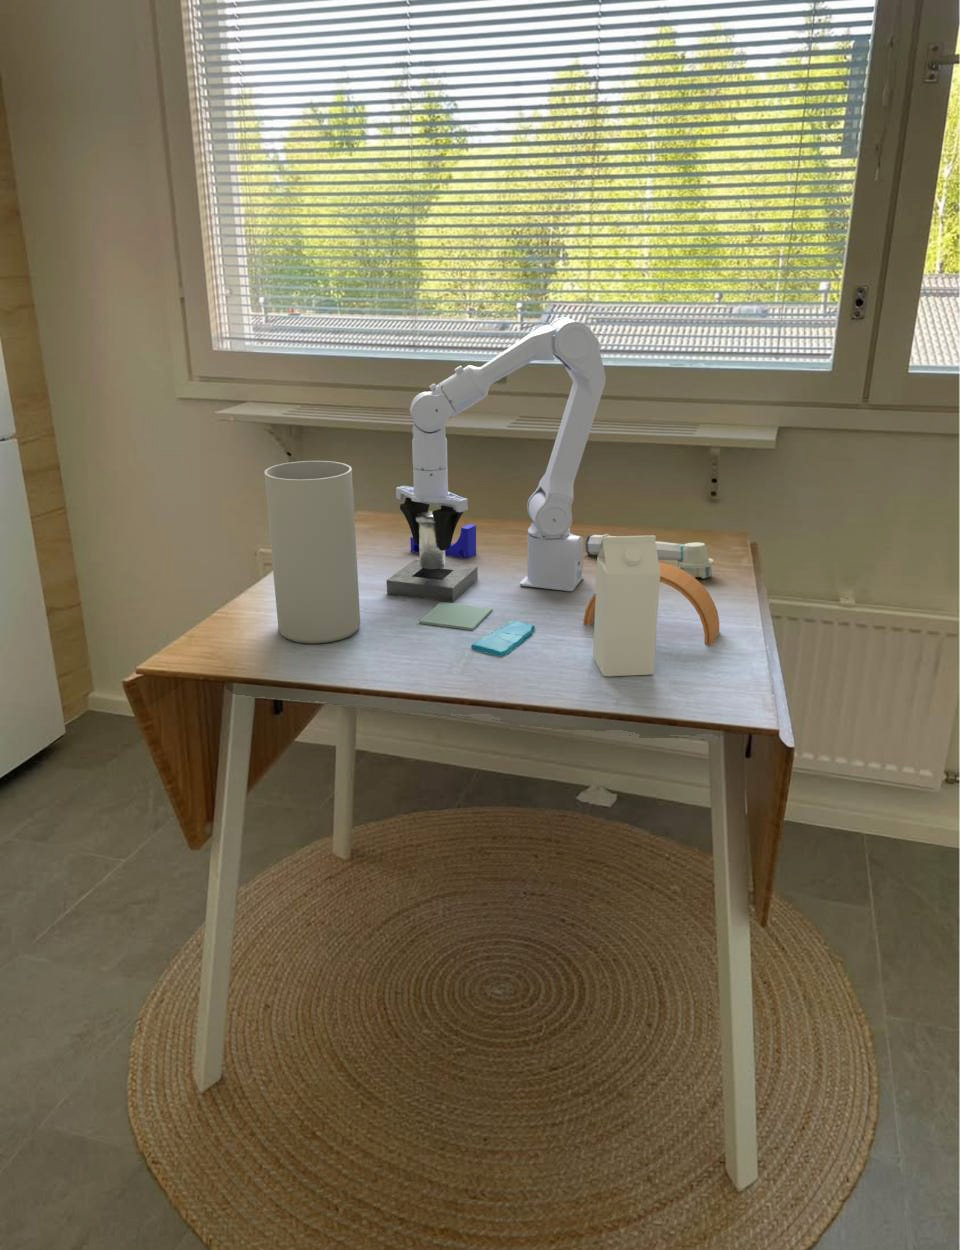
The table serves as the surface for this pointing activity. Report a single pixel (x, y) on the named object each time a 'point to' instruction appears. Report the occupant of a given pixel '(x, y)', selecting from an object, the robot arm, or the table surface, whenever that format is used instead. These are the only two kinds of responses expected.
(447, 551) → the blue bearing cradle
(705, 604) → the arch
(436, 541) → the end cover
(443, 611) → the mat
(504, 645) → the sponge
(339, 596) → the cylinder vase
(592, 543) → the angle grinder
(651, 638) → the milk carton
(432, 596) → the socket block
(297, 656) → the table surface
